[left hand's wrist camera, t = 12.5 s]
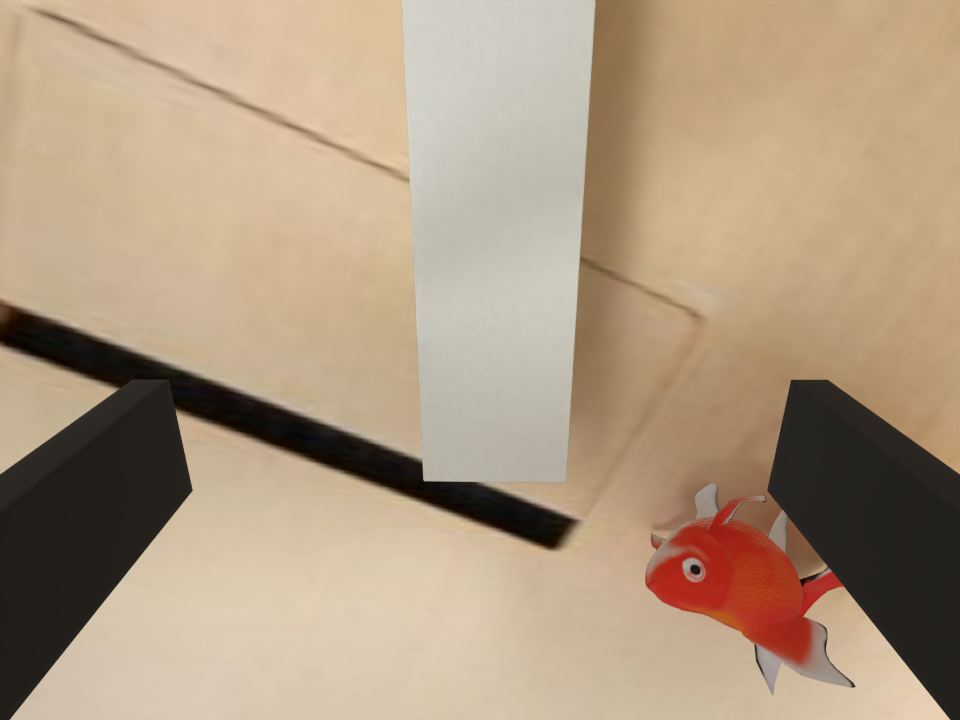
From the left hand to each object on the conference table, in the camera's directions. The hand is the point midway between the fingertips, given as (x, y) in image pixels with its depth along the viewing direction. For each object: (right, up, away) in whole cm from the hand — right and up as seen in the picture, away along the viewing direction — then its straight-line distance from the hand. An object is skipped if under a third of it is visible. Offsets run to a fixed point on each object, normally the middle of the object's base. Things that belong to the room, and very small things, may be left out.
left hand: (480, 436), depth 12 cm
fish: (+16, -7, +19) cm, 26 cm away
